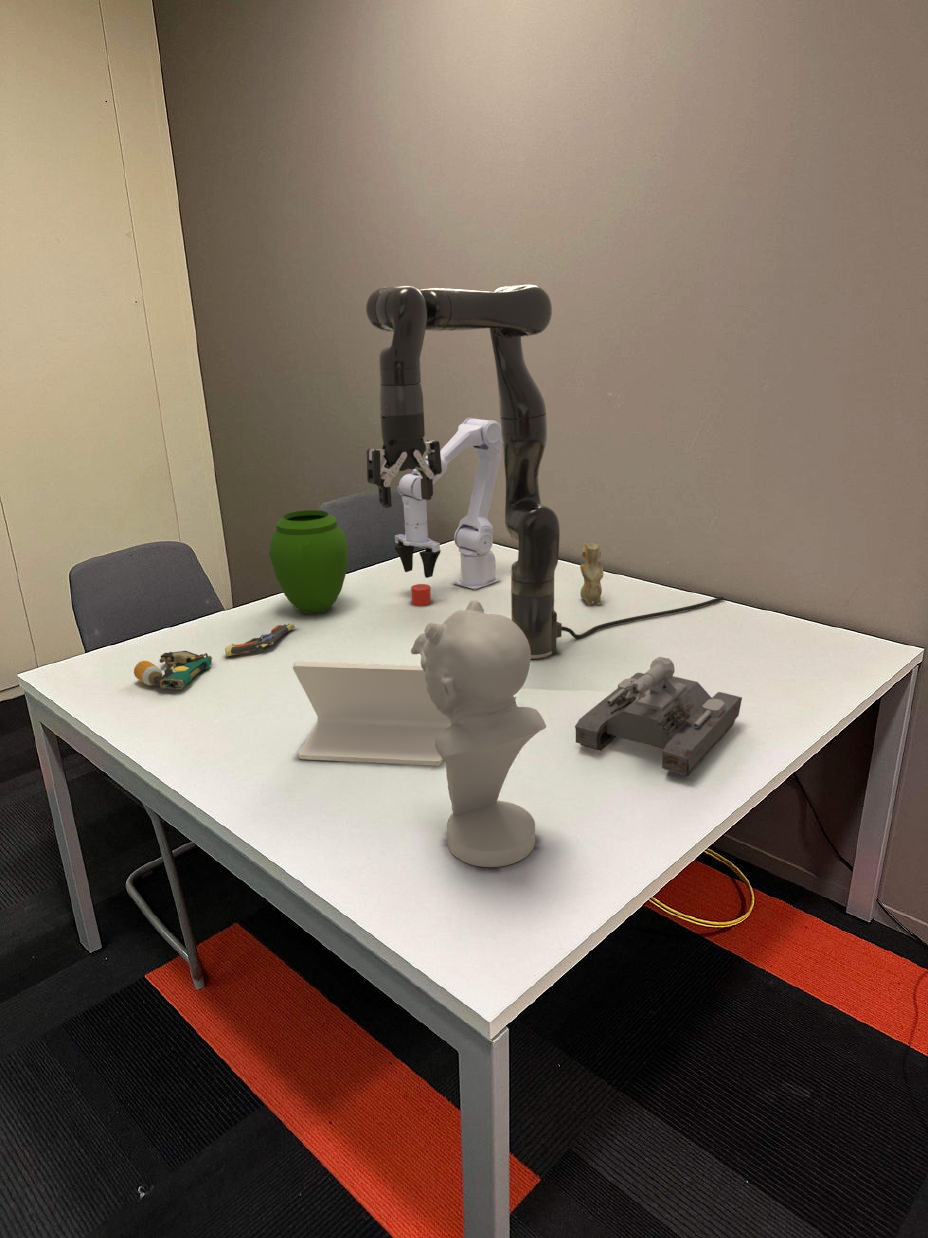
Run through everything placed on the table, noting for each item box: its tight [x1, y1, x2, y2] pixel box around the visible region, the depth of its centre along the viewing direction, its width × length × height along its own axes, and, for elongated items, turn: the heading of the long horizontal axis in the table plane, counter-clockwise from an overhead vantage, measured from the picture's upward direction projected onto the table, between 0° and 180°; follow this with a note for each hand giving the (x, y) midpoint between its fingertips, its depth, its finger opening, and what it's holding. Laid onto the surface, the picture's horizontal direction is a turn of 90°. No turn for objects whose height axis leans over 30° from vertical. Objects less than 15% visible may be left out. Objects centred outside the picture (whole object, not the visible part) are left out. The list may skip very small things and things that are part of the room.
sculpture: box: [579, 542, 604, 605], centre depth 214 cm, size 6×7×15 cm
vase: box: [268, 509, 349, 615], centre depth 213 cm, size 20×20×24 cm
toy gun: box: [224, 623, 296, 657], centre depth 196 cm, size 3×19×10 cm
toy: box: [574, 656, 743, 777], centre depth 148 cm, size 25×20×15 cm
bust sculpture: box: [410, 599, 547, 868], centre depth 121 cm, size 16×24×35 cm
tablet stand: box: [292, 661, 451, 766], centre depth 150 cm, size 18×25×17 cm
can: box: [410, 583, 432, 607], centre depth 219 cm, size 5×5×4 cm
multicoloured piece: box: [133, 650, 213, 690], centre depth 180 cm, size 4×17×15 cm
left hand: (418, 573), depth 219 cm, fingers open, 7 cm apart
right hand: (406, 503), depth 153 cm, fingers open, 8 cm apart
